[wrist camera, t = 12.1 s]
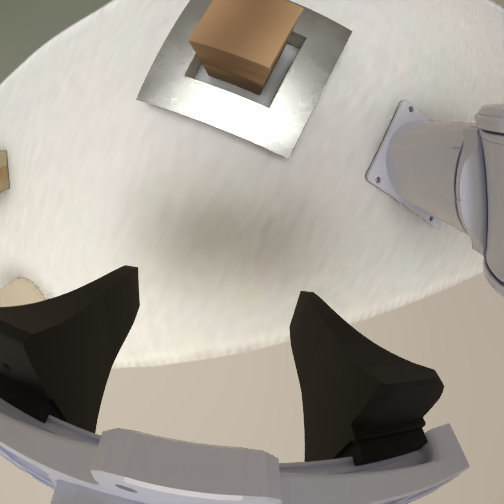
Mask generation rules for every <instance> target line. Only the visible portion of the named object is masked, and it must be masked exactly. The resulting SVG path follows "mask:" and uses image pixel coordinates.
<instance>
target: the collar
mask: <svg viewBox="0 0 504 504" xmlns="http://www.w3.org/2000/svg"><path fill="white" fill-rule="evenodd" d="M212 1H213V0H190V2H189V3H188V4H187V6H186V7H185V9H184V10H183V12H182V14H181V15H180V17H179V18H178V20H177V21H176V23H175V25H174V26H173V28H172V30H171V31H170V33H169V35H168V37H167V38H166V40H165V42H164V44H163V45H162V47H161V49H160V51H159V53H158V55H157V57H156V59H155V60H154V62H153V64H152V66H151V68H150V70H149V72H148V75H147V77H146V79H145V81H144V83H143V85H142V87H141V90H140V92H139V94H138V97H137V99H136V100H139V101H142V102H146V103H149V104H152V105H155V106H158V107H162V108H165V109H168V110H171V111H174V112H177V113H179V114H182V115H185V116H188V117H191V118H193V119H196V120H199V121H201V122H204V123H207V124H209V125H212V126H214V127H217V128H220V129H222V130H224V131H227V132H229V133H232V134H234V135H237V136H239V137H241V138H244V139H246V140H248V141H251V142H253V143H255V144H257V145H260V146H262V147H264V148H266V149H268V150H270V151H273V152H275V153H277V154H279V155H281V156H283V157H285V158H287V159H288V158H289V156H290V154H291V152H292V150H293V148H294V146H295V144H296V142H297V140H298V138H299V136H300V134H301V132H302V130H303V128H304V126H305V124H306V122H307V120H308V118H309V116H310V114H311V112H312V110H313V108H314V106H315V104H316V102H317V100H318V98H319V96H320V94H321V92H322V90H323V88H324V86H325V84H326V82H327V80H328V78H329V76H330V74H331V72H332V70H333V68H334V66H335V64H336V62H337V60H338V58H339V56H340V55H341V53H342V51H343V49H344V47H345V45H346V43H347V41H348V39H349V37H350V35H351V33H352V31H351V30H349V29H347V28H345V27H344V26H342V25H340V24H338V23H336V22H335V21H333V20H331V19H329V18H327V17H325V16H323V15H321V14H319V13H317V12H315V11H312V10H310V9H308V8H306V7H304V6H301V5H299V4H297V3H294V2H292V1H289V0H286V1H288V2H291V3H293V4H296V5H298V6H300V7H303V8H304V9H303V11H302V13H301V15H300V17H299V19H298V21H297V23H296V25H295V27H294V29H293V31H292V33H291V35H290V37H289V39H288V41H287V43H289V44H291V45H294V46H296V47H298V48H300V49H299V51H298V53H297V54H296V56H295V58H294V60H293V62H292V64H291V66H290V67H289V69H288V71H287V73H286V75H285V77H284V79H283V81H282V83H281V84H280V86H279V88H278V90H277V92H276V94H275V96H274V98H273V100H272V102H271V104H270V106H269V108H267V107H265V106H263V105H260V104H258V103H256V102H253V101H251V100H249V99H246V98H244V97H241V96H239V95H236V94H234V93H231V92H229V91H226V90H223V89H221V88H218V87H215V86H212V85H210V84H207V83H204V82H201V81H198V80H195V79H193V78H194V76H195V74H196V72H197V70H198V68H199V66H200V65H201V61H200V59H199V57H198V56H197V54H196V52H195V51H194V49H193V47H192V46H191V44H190V42H189V41H188V40H189V38H190V36H191V35H192V33H193V31H194V30H195V28H196V26H197V25H198V23H199V21H200V20H201V18H202V17H203V15H204V14H205V12H206V10H207V9H208V7H209V6H210V4H211V3H212Z"/></svg>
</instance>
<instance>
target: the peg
mask: <svg viewBox="0 0 504 504" xmlns="http://www.w3.org/2000/svg"><path fill="white" fill-rule="evenodd" d="M303 9H304V8H303V7H300V6H298V5H296V4H293V3H291V2H288V1H286V0H213V1H212V3H211V4H210V6H209V7H208V9H207V10H206V12H205V14H204V15H203V17H202V18H201V20H200V21H199V23H198V25H197V26H196V28H195V30H194V31H193V33H192V35H191V36H190V38H189V40H188V41H189V42H190V44H191V46H192V47H193V49H194V51H195V52H196V54H197V56H198V57H199V59H200V61H201V63H202V64H203V66H204V68H205V69H206V71H207V73H208V75H209V76H211V77H214V78H217V79H219V80H222V81H225V82H228V83H230V84H233V85H236V86H238V87H241V88H243V89H246V90H248V91H251V92H253V93H256V94H258V95H260V94H261V92H262V90H263V88H264V86H265V84H266V82H267V80H268V78H269V76H270V74H271V72H272V71H273V69H274V67H275V65H276V63H277V61H278V59H279V57H280V56H281V54H282V52H283V50H284V48H285V46H286V43H287V41H288V39H289V37H290V35H291V33H292V31H293V29H294V27H295V25H296V23H297V21H298V19H299V17H300V15H301V13H302V11H303Z"/></svg>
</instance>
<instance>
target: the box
mask: <svg viewBox="0 0 504 504" xmlns="http://www.w3.org/2000/svg"><path fill="white" fill-rule="evenodd" d="M7 189H9V177H8V166H7V151H6V150H3V151H0V192H2V191H4V190H7Z"/></svg>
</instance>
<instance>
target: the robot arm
mask: <svg viewBox="0 0 504 504" xmlns="http://www.w3.org/2000/svg"><path fill="white" fill-rule="evenodd" d="M409 107H410V108H411V112H410V111H409ZM475 121H476V124H473V123H460V122H440V121H431V120H430V119H429V118H428V117H426V116H425V115H424V114H423V113H422V112H421V111H420V110H418V109H417V108H416V107H415V106H414V105H412V104H411V103H410V102H409V101H407V100H403V101H401V102H400V104H399V107H398V109H397V111H396V114H395V116H394V118H393V120H392V122H391V125H390V127H389V129H388V131H387V133H386V135H385V138H384V140H383V142H382V144H381V146H380V148H379V150H378V152H377V154H376V156H375V158H374V160H373V162H372V164H371V166H370V168H369V170H368V172H367V175H366V178H367V180H368V181H369V182H370V183H372V184H373V185H375V186H376V187H378V188H379V189H381V190H382V191H384V192H385V193H387V194H388V195H390V196H391V197H393V198H394V199H396V200H397V201H399V202H400V203H402V204H403V205H404V206H406V207H407V208H409V209H410V210H411V211H413V212H414V213H416V214H417V215H418V216H420V217H421V218H422V219H424V220H425V221H426V222H428V223H429V224H430V225H432V226H433V227H434V228H438V227H439V226H440V224H441V223H442V221H445V222H447V223H448V224H450V225H452V226H453V227H455V228H457V229H459V230H460V231H462V232H464V233H465V234H467V235H469V236H470V237H471V240H472V248H473V249H474V250H476V251H477V252H479V253H480V254H482V255H483V256H484V262H483V269H484V273H485V277H486V278H487V280H488V282H489V283H490V285H491V286H492V287H493V288H494V289H495V290H496V291H497V292H498V293H499V294H501V295H502V296H503V297H504V104H492V105H484V106H482V107H481V109H480V110H479V113H477V114H476V115H475ZM377 177H378V178H379V181H378V182H377V183H376V181H375V180H376V178H377ZM430 216H431V219H430V220H429V218H430ZM139 306H140V303H139V283H138V267H132V266H126V265H125V266H123V267H120V268H118V269H116V270H114V271H112V272H110V273H108V274H107V275H105V276H103V277H101V278H99V279H97V280H95V281H93V282H91V283H89V284H87V285H85V286H82V287H80V288H78V289H76V290H74V291H71V292H69V293H66V294H63V295H61V296H58V297H55V298H51V299H47V300H44V301H40V302H36V303H31V304H26V305H19V306H9V307H0V455H1V456H3V457H4V458H5V459H7V460H8V461H9V462H11V463H12V464H14V465H15V466H17V467H18V468H19V469H21V470H22V471H24V472H25V473H27V474H29V475H30V476H32V477H33V478H35V479H37V480H38V481H40V482H42V483H44V484H45V485H47V486H49V487H50V488H52V489H54V494H53V497H52V501H51V504H407V503H410V502H412V501H415V500H417V499H419V498H422V497H424V496H426V495H428V494H430V493H432V492H434V491H435V490H437V489H439V488H440V487H442V486H443V485H445V484H447V483H448V482H450V481H451V480H453V479H454V478H455V477H457V476H458V475H460V474H461V473H463V472H464V471H466V470H467V469H468V468H469V464H468V462H467V459H466V457H465V455H464V453H463V451H462V449H461V447H460V444H459V442H458V440H457V438H456V436H455V434H454V432H453V430H452V428H451V426H450V424H445V425H442V426H439V427H436V428H433V429H431V430H429V431H427V432H425V433H424V432H423V429H422V427H424V426H425V421H424V419H423V416H424V415H425V414H426V413H427V412H428V411H429V410H430V409H431V408H432V407H433V405H434V404H435V403H436V402H437V401H438V399H439V398H440V396H441V394H442V392H443V388H444V385H443V383H442V381H441V380H440V378H439V376H438V375H437V373H436V371H435V370H433V369H430V368H427V367H424V366H421V365H418V364H415V363H412V362H410V361H408V360H405V359H403V358H401V357H399V356H397V355H395V354H393V353H390V352H389V351H387V350H385V349H383V348H382V347H380V346H378V345H377V344H375V343H373V342H372V341H370V340H369V339H367V338H366V337H365V336H363V335H362V334H361V333H359V332H358V331H357V330H355V329H354V328H353V327H352V326H350V325H349V324H348V323H347V322H346V321H345V320H343V319H342V318H341V317H340V316H339V315H338V314H337V313H336V312H335V311H334V310H333V309H331V308H330V307H329V306H328V305H327V304H326V303H325V302H324V301H323V300H322V299H321V298H320V297H319V296H318V295H316V294H315V293H314V292H305V291H301V292H300V295H299V298H298V302H297V305H296V308H295V311H294V315H293V318H292V321H291V324H290V339H291V347H292V351H293V356H294V361H295V365H296V369H297V373H298V377H299V382H300V387H301V392H302V401H303V413H304V427H305V428H304V429H305V462H296V463H279V461H278V458H276V457H275V456H273V455H271V454H269V453H267V452H264V451H262V450H255V449H248V448H241V447H229V446H218V445H208V444H201V443H193V442H186V441H181V440H175V439H170V438H164V437H160V436H155V435H151V434H146V433H142V432H138V431H133V430H126V429H120V428H116V429H112V430H107V431H103V432H102V435H101V436H100V435H97V434H95V430H96V424H97V418H98V414H99V409H100V405H101V401H102V397H103V393H104V390H105V386H106V383H107V380H108V377H109V373H110V371H111V368H112V365H113V363H114V360H115V358H116V356H117V354H118V352H119V350H120V348H121V346H122V344H123V343H124V341H125V339H126V337H127V335H128V333H129V331H130V329H131V327H132V325H133V323H134V320H135V318H136V315H137V312H138V309H139Z"/></svg>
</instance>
